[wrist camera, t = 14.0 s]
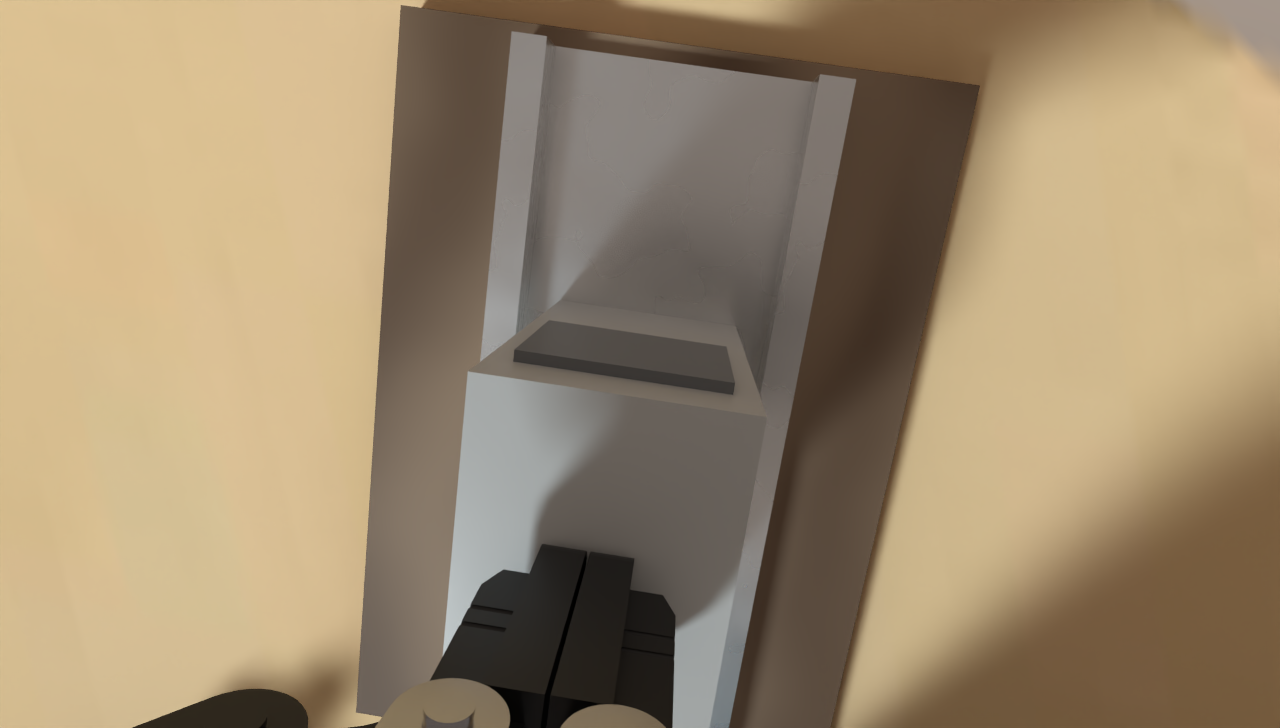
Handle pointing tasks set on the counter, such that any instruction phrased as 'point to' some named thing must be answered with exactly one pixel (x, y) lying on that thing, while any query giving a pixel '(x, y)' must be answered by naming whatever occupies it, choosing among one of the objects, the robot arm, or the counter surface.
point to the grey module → (615, 467)
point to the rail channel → (670, 222)
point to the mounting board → (826, 385)
